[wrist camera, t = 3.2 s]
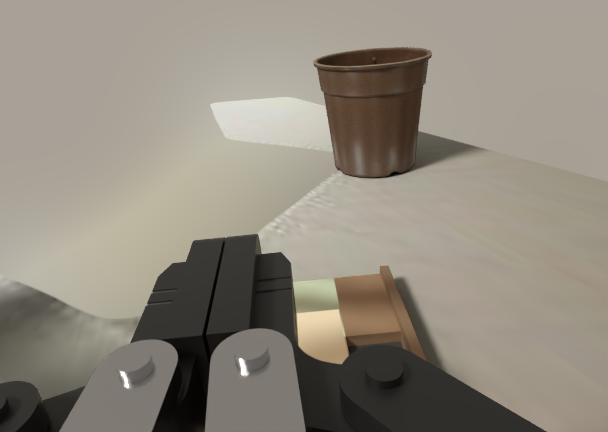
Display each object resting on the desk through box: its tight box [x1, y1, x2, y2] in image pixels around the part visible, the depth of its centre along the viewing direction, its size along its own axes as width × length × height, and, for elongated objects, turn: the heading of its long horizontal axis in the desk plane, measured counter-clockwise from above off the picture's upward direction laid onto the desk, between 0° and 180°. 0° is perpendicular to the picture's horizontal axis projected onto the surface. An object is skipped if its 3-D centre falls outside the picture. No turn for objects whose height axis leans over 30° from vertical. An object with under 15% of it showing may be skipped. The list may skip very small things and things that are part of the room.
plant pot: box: [314, 47, 432, 178], centre depth 68 cm, size 16×16×16 cm
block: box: [296, 309, 348, 364], centre depth 24 cm, size 8×7×8 cm
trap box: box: [293, 266, 427, 361], centre depth 32 cm, size 23×19×2 cm
